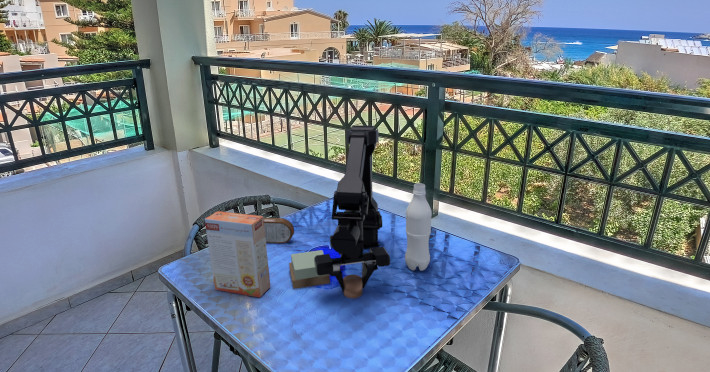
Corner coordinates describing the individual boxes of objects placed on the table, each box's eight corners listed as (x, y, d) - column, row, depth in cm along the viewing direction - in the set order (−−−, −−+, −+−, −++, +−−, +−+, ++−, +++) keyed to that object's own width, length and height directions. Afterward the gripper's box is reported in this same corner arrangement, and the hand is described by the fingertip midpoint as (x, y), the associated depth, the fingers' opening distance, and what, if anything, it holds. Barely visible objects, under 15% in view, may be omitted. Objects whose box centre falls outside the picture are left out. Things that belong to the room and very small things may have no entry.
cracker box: (271, 286, 113) (264, 215, 106) (259, 299, 108) (251, 224, 101) (227, 278, 117) (218, 209, 111) (214, 290, 112) (203, 218, 105)
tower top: (322, 259, 121) (322, 249, 120) (328, 274, 113) (328, 265, 112) (291, 263, 119) (290, 254, 118) (295, 280, 111) (294, 270, 110)
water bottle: (434, 266, 121) (438, 184, 113) (420, 275, 116) (423, 191, 108) (414, 258, 126) (416, 179, 118) (399, 267, 121) (400, 185, 113)
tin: (295, 240, 139) (293, 217, 136) (293, 245, 136) (291, 221, 133) (251, 239, 141) (248, 216, 138) (248, 243, 138) (245, 220, 135)
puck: (359, 286, 112) (359, 273, 111) (364, 296, 108) (364, 283, 106) (341, 289, 111) (340, 276, 110) (346, 299, 106) (345, 286, 105)
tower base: (323, 267, 123) (323, 258, 122) (330, 285, 114) (329, 275, 113) (289, 272, 121) (288, 262, 120) (293, 290, 112) (292, 281, 111)
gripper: (378, 218, 113) (378, 269, 118) (309, 226, 109) (312, 278, 114) (391, 235, 103) (390, 290, 108) (316, 245, 99) (319, 301, 104)
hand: (352, 289), depth 109 cm, fingers closed on puck, 5 cm apart
